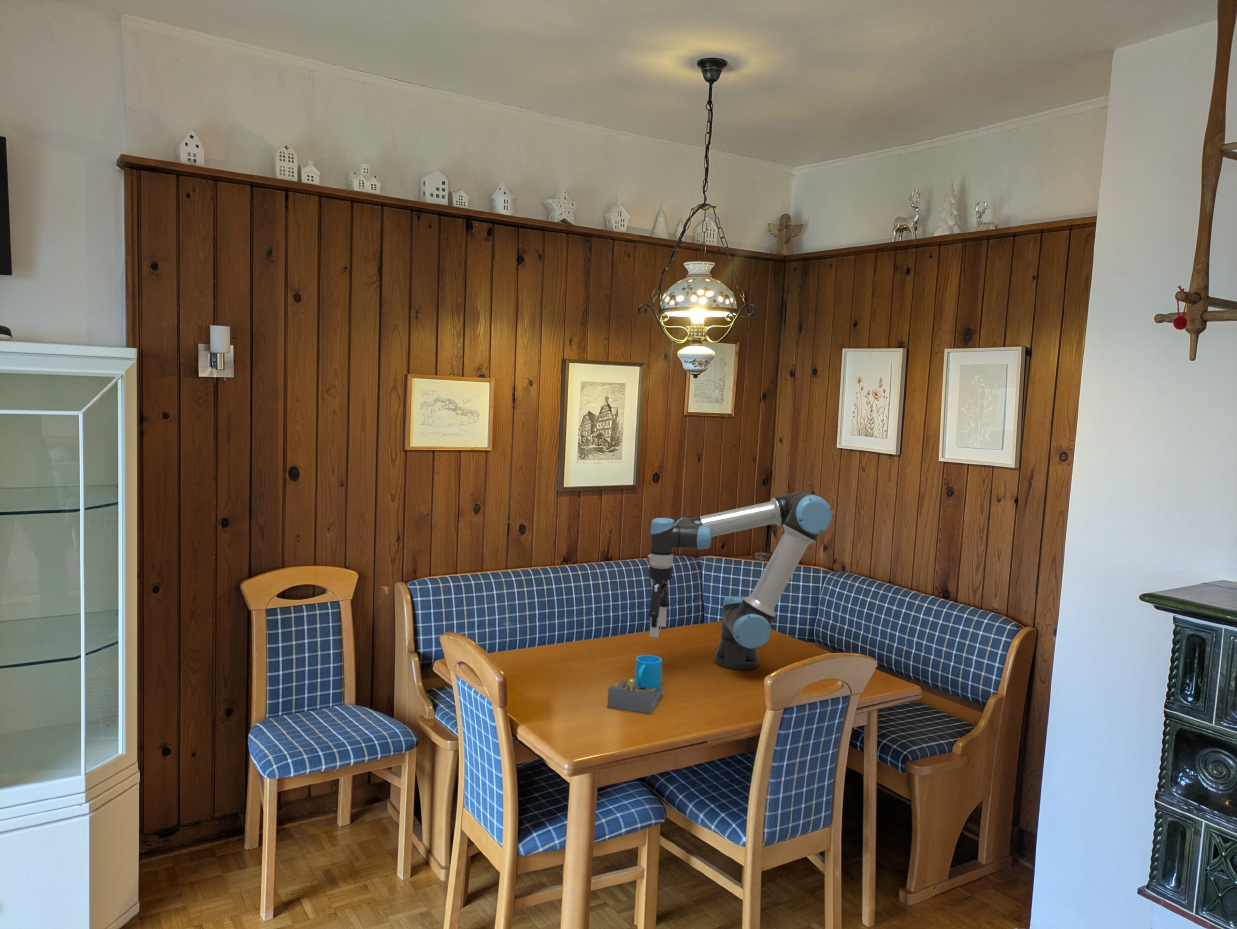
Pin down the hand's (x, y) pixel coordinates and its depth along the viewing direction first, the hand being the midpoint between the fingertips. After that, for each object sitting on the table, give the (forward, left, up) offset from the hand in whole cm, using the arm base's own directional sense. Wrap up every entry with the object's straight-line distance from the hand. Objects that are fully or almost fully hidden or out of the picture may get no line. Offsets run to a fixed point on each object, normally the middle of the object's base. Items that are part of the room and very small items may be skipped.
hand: (657, 631), depth 284 cm
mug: (+1, +13, -14) cm, 19 cm away
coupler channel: (0, +27, -14) cm, 30 cm away
